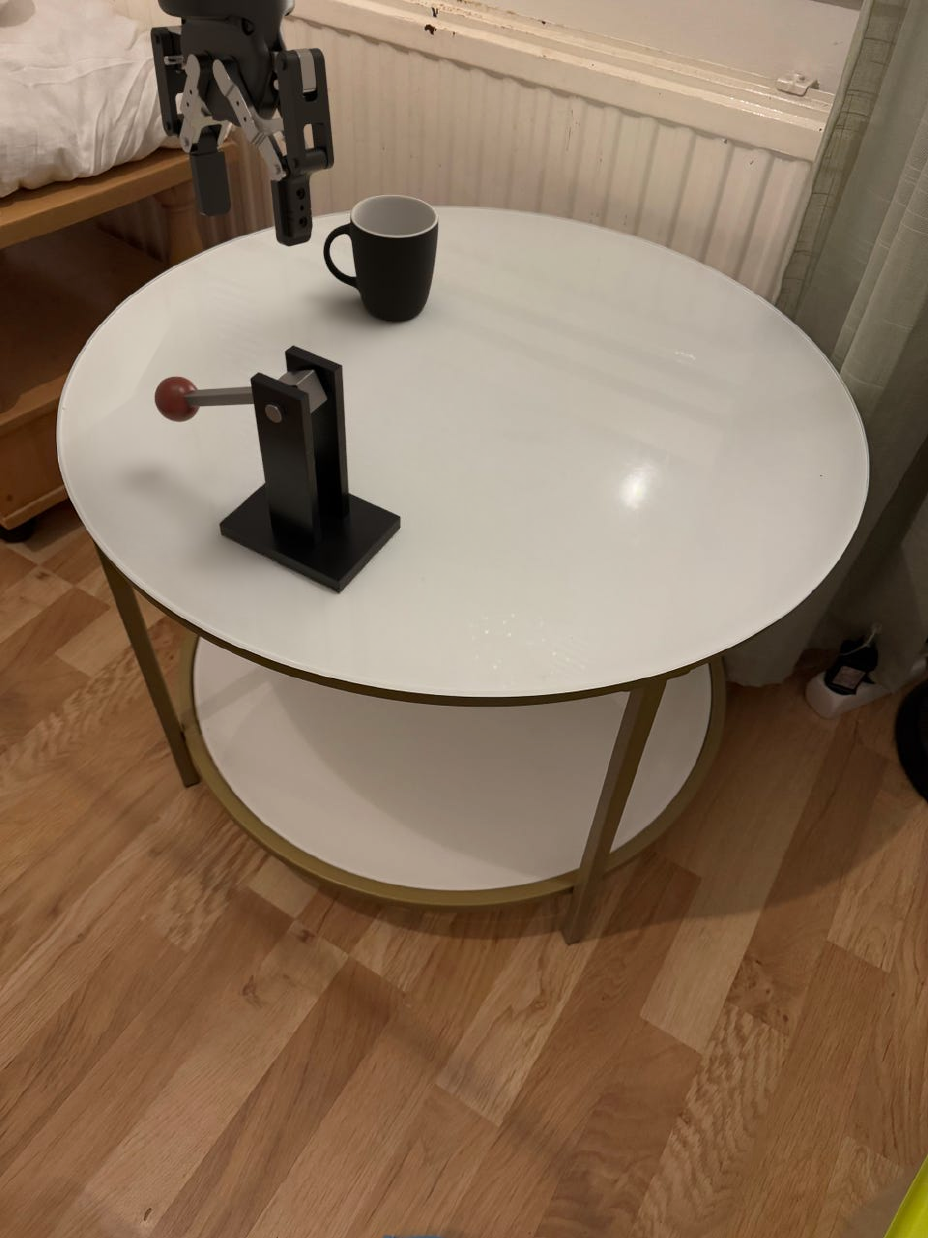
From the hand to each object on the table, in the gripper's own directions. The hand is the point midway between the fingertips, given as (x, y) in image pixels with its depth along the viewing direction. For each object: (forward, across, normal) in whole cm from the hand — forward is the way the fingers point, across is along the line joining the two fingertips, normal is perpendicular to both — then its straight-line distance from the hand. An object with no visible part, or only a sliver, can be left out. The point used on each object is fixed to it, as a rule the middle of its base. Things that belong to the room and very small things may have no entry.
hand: (253, 227), depth 58 cm
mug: (+18, -23, +31) cm, 42 cm away
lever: (+15, -5, 0) cm, 16 cm away
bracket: (+25, -1, +3) cm, 25 cm away
